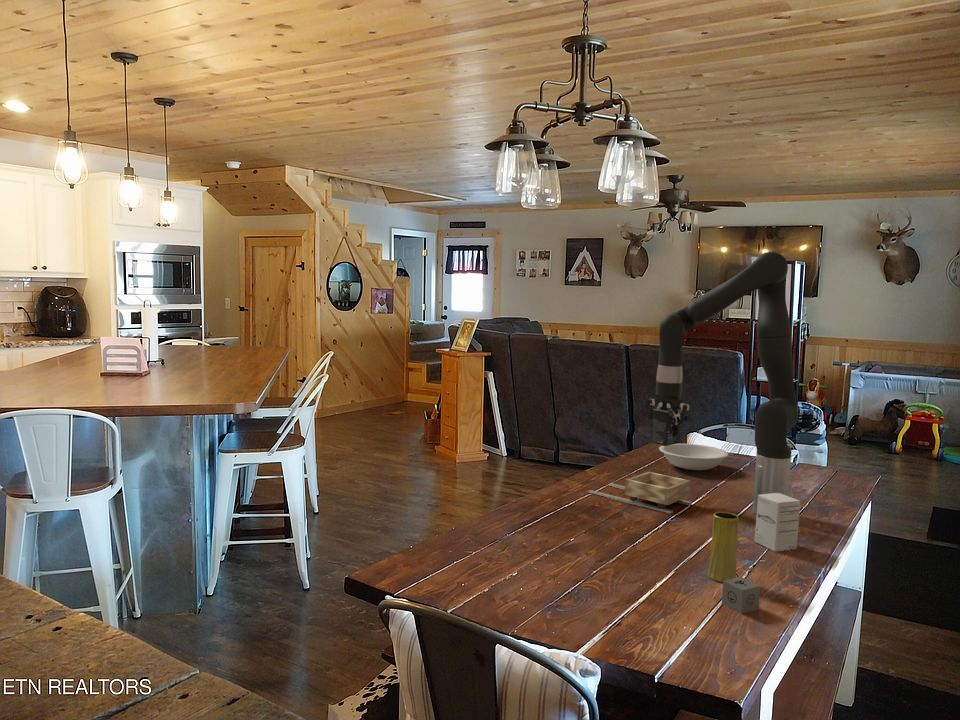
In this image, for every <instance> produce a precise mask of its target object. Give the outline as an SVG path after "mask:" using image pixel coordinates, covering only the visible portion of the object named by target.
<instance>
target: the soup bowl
mask: <svg viewBox="0 0 960 720" xmlns="http://www.w3.org/2000/svg"><path fill="white" fill-rule="evenodd" d="M658 450H659V452H661V453H662V454H663V455H664V457H665V458H666V459H667V461H668V462H669V463H670V464H672V465H673V466H675V467H677V468H681V469H685V470H691V471H692V470H693V471H706V470H707V471H708V470H710V469H713V468H715V467H717V466H718V465H720V464H721V463H722V461H723V460H724V459H727V458H728V457H729V453H728V452H727V451H726V450H724V449H722V448H717V447H714V446H709V445H705V444H703V445H702V444H693V443H679V444H673V445H668V446H662V445H659V447H658Z"/></svg>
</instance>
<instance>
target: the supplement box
mask: <svg viewBox="0 0 960 720" xmlns="http://www.w3.org/2000/svg"><path fill="white" fill-rule="evenodd" d="M801 502H802V501H801V500H799V499H798V498H797V499H796V498H793V497H789V496H786V495H783V494H781V493H770V494H761V495H758V503H757V514H756V515H755V516H756V519H755V530H754V531H755V532H754V543H757V544H759V545H761V546H763V547H765V548H767V549H768V550H771V551H772V552H785V551H790V550H791V549H792V550H796V549H797V548H798V547H797V546H798V538H799V537H798V536H799V535H798V534H799V526H800V525H799V524H800V523H799V522H800V513H801ZM784 550H785V551H784Z"/></svg>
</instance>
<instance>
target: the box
mask: <svg viewBox="0 0 960 720" xmlns="http://www.w3.org/2000/svg"><path fill="white" fill-rule="evenodd" d="M678 412H679V414H680V417H681V413H682V410H681V409H680V408H679V409H678V411H675V412H674V414H678ZM673 425H674V422H673V412H672V411H669V410H665V409H657V408H654V409H653V418H652V420H651V431H650V432H651V435H650V444H653V445H657V446H668V445H673V444H681V435H682V432H681V431H682V425H681V426H680V435H678V437H673Z"/></svg>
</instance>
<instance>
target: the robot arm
mask: <svg viewBox="0 0 960 720" xmlns="http://www.w3.org/2000/svg"><path fill="white" fill-rule="evenodd" d="M788 271H789V264H788V261H787V259H786V257H785V256H784V255H783V254H781V253H779V252H776V251H767V252H763V253H762V254H761V255H759V256H758V257H757V258H756V259H755V260H754V261H752V262H751V263H750V264H749V265H748V266H746V268H744V269H743V270H741V271H740V272H739V273H737V274H736V275H734V276H733V277H731V278H729V279H728V280H726V281H725V282H723V283H721V284H719V285H717V286H715V287H714V288H712V289H710V290H708V291H706V292H704V293H703V294H701V295H700V296H698V297H696V298H694V299H693V300H692V301H689V303H687V304H686V305H685V306H683V307H681V308H679V309H677V310H675V311H674V312H672V313H671V314H667V315H666V316H664V317H663V318H662V319H661V320H660V323H659V328H658V329H659V331H658V332H659V334H658V335H659V350H658V351H659V352H658V365H657V371H656V382H655V385H656V386H655V398H647V399H646V400H645V404H646V417H647V418H648V419H650V420H651V421H652V418H653V409H655V405H656V409H665V410H669V411H672V412H673V422H674V425H673V437H678V435H680V426H681V427H682V425H683V424H687V423H688V419H689V415H690V409H691V404H689V403H687V404H686V403H683V402H682V398H681V397H682V391H683V388H682V387H683V358H684V351H683V342H684V341H683V339H684V333H686V332H688V331H689V330H691V329H692V328H694V327H695V326H696V325H698V324H699V325H700V324H701V323H703V322H706V321H707V320H709V319H711V318H712V317H714V316H716V315H718V314H720V312H723V311H724V310H726V309H727V308H729V307H730V306H731V305H733V304H734V303H735V302H737V301H738V300H740V299H741V298H743V297H745V296H746V295H748V294H749V293H752V292H754V291H755V290H757V297H758V312H757V323H756V344H757V347H756V348H757V355H758V359H759V362H760V366H761V367H762V369H763V371H764V374H765V376H766V380H767V384H768V400H767V401H764V402H763V403H761V404H759V406H758V408H757V410H756V412H755V419H754V443H755V447H756V457H755V470H754V484H753V485H754V486H753V496H752V497H753V498H752V513H754V514H755V515H757V503H758V495H761V494H770V493H781V494H783V495H786V496H789V497H791V496H792V495H791V494H792V482H790V477H791V475H790V474H791V463H792V462H791V459H792V447H791V446H790V445H788V442H787V437H788V436H787V433H788V432H787V431H790V430H792V429H793V428H794V427H795V426H796V425H797V423H798V420H799V408H798V402H797V396H796V388H795V384H794V382H795V381H794V364H793V363H794V362H793V341H792V338H793V337H792V329H791V328H792V327H791V322H790V316H789V312H788V307H787V295H786V292H787V289H786V288H787V277H788ZM678 409H679V410H682V413H681V417H680V414H679V412H678V414H674V412H675V411H678ZM791 498H792V497H791Z"/></svg>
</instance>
